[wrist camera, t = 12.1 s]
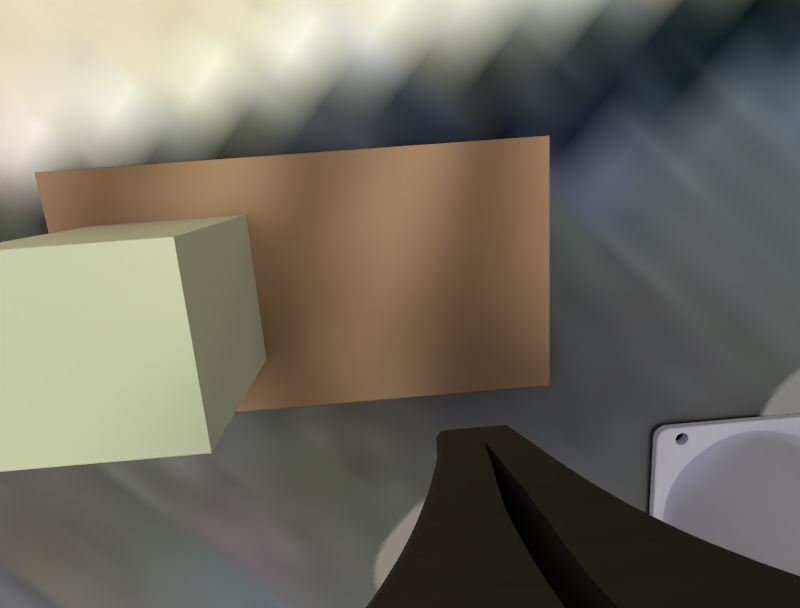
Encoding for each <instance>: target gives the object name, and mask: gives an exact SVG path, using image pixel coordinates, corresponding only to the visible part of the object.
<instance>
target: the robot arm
mask: <svg viewBox="0 0 800 608" xmlns="http://www.w3.org/2000/svg"><path fill="white" fill-rule="evenodd" d="M681 433H683V435H682V437H681V438H680V439H679V440H676V437H677V436H678V435H679V434H681ZM436 438H437V455H438V456H437V462H436V467H435V471H434V475H433V478H432V482H431V486H430V489H429V492H428V495H427V498H426V500H425V503H424V505H423V508H422V510H421V513H420V516H419V518H418V521H417V523H416V525H415V527H414V529H413V532H412V534H411V536H410V538H409V540H408V542H407V544H406V545H405V547H404V549H403V551H402V553H401V555H400V557H399V558H398V560H397V562H396V563H395V565H394V566H393V568H392V570H391V571H390V573H389V574H388V576H387V578H386V579H385V581H384V583H383V584H382V586H381V587H380V589H379V590H378V592H377V593H376V594H375V596H374V597H373V599H372V600H371V602H370V603H369V604H368V606H367V607H366V608H800V413H796V414H785V415H774V416H761V417H750V418H739V419H727V420H716V421H705V422H693V423H682V424H671V425H664V426H661V427H659V428H658V429H657V430H656V431H655V432H654V436H653V449H652V468H651V488H650V508H649V514H647V513H645V512H642V511H641V510H639V509H637V508H635V507H633V506H631V505H629V504H627V503H625V502H624V501H622V500H620V499H618V498H617V497H615V496H613V495H612V494H610V493H608V492H606V491H605V490H603V489H601V488H599V487H598V486H596V485H594V484H593V483H591V482H589V481H588V480H586V479H585V478H583V477H581V476H580V475H578V474H577V473H575V472H574V471H572V470H571V469H569V468H567V467H566V466H565V465H563V464H562V463H560V462H559V461H557V460H556V459H554V458H553V457H551V456H550V455H548V454H547V453H545V452H544V451H543V450H541V449H540V448H538V447H537V446H536V445H534V444H533V443H531V442H530V441H529V440H527V439H526V438H524V437H523V436H522V435H520V434H519V433H517V432H516V431H514V430H513V429H511V428H510V427H508V426H507V425H502V426H490V427H479V428H467V429H456V430H444V431H441V432H440V434H439V435H438V436H437V437H436Z"/></svg>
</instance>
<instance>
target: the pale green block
mask: <svg viewBox="0 0 800 608" xmlns="http://www.w3.org/2000/svg"><path fill="white" fill-rule="evenodd" d="M265 361H266V352H265V345H264V338H263V331H262V324H261V317H260V310H259V303H258V295H257V288H256V281H255V274H254V267H253V260H252V253H251V246H250V239H249V231H248V224H247V217H246V215H235V216H221V217H208V218H194V219H181V220H168V221H154V222H141V223H127V224H114V225H101V226H89V227H84V228H78V229H72V230H67V231H61V232H56V233H50V234H45V235H39V236H33V237H28V238H22V239H17V240H11V241H6V242H0V471H12V470H23V469H35V468H46V467H58V466H69V465H80V464H92V463H103V462H115V461H126V460H137V459H149V458H160V457H172V456H183V455H195V454H206V453H212V451H213V450H214V448H215V446H216V444H217V443H218V441H219V439H220V438H221V436H222V434H223V432H224V431H225V429H226V427H227V426H228V424H229V422H230V421H231V419H232V417H233V415H234V414H235V412H236V410H237V409H238V407H239V405H240V404H241V402H242V400H243V398H244V397H245V395H246V393H247V392H248V390H249V388H250V387H251V385H252V383H253V381H254V380H255V378H256V376H257V375H258V373H259V371H260V370H261V368H262V366H263V364H264V363H265Z"/></svg>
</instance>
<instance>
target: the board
mask: <svg viewBox="0 0 800 608" xmlns="http://www.w3.org/2000/svg"><path fill="white" fill-rule="evenodd" d="M35 176H36V180H37V185H38V189H39V193H40V197H41V202H42V206H43V210H44V215H45V219H46V223H47V228H48V232H49V234H50V233H56V232H61V231H67V230H72V229H78V228H84V227H89V226H101V225H114V224H127V223H141V222H154V221H168V220H181V219H194V218H208V217H221V216H235V215H246V217H247V224H248V231H249V239H250V246H251V253H252V260H253V267H254V274H255V281H256V288H257V295H258V303H259V310H260V317H261V324H262V331H263V338H264V345H265V352H266V361H265V363H264V364H263V366H262V368H261V370H260V371H259V373H258V375H257V376H256V378H255V380H254V381H253V383H252V385H251V387H250V388H249V390H248V392H247V393H246V395H245V397H244V398H243V400H242V402H241V404H240V405H239V407H238V409H237V410H236V412H242V411H253V410H265V409H277V408H288V407H300V406H312V405H323V404H335V403H347V402H359V401H370V400H382V399H394V398H405V397H417V396H429V395H440V394H452V393H464V392H476V391H487V390H499V389H511V388H522V387H534V386H546V385H550V222H549V136H539V137H525V138H511V139H497V140H483V141H469V142H455V143H441V144H427V145H413V146H399V147H385V148H371V149H357V150H343V151H329V152H316V153H302V154H288V155H274V156H260V157H246V158H232V159H218V160H204V161H190V162H176V163H162V164H148V165H134V166H120V167H106V168H92V169H78V170H64V171H50V172H36V173H35Z"/></svg>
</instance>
